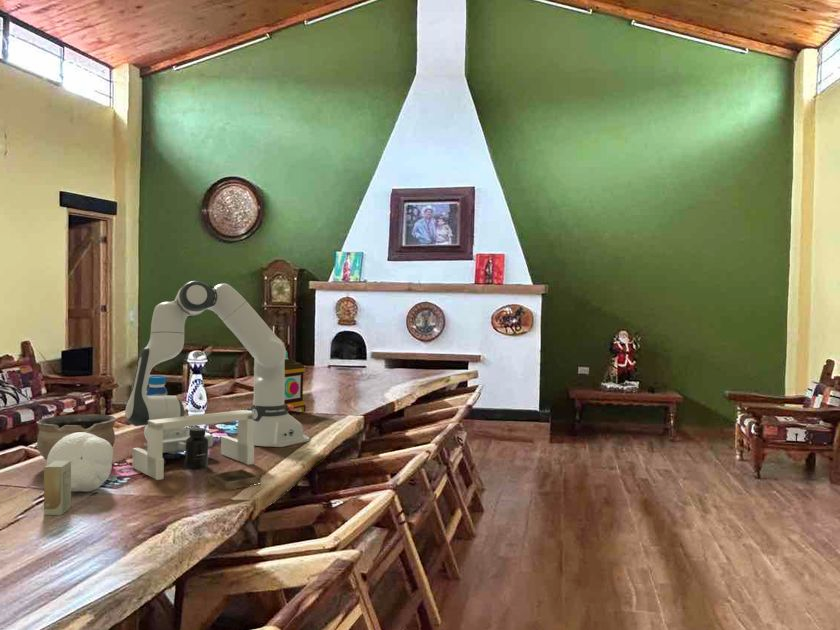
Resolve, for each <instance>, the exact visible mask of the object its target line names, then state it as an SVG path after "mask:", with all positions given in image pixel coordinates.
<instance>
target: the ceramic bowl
mask: <svg viewBox="0 0 840 630" xmlns="http://www.w3.org/2000/svg"><path fill="white" fill-rule="evenodd" d="M116 421H117V419H116V417H114V416H113V415H108V414H67V415H58V416H52V417H51V416H49V417H46V418H41V419H40V420H38V421H35V422H36V424H37V426H38V428H39V432H38V434H37V438H36V447H37V450H38V452H39V454H40V455H41V456H42V457H43V458H44V460H45V461H46V462H47V458H48V455H49V452H50V450H51V449H52V447H54V445H55V444H56V443H57V442H58V441H59V440H61V439H62V438H63V437H65V436H67V435H70V434H73V433H77V432H85V433H90V434H93V435H95V436H97V437H99V438H102V439H105V440H106V441H108V442H109V443H110V445H111V446H112V448H113V447H114V445H115V442H116V441H115V440H116V434H115V431H114V425H115V423H116Z"/></svg>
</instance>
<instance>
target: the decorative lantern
mask: <svg viewBox="0 0 840 630" xmlns="http://www.w3.org/2000/svg"><path fill="white" fill-rule="evenodd" d="M252 368H253V370H254V366H253V367H252ZM306 369H307V368H306V366H305V365H304V364H302V363H301V362H297V361H295V360H294V358H293V359H292V358H291V356H288V350H286V357H285V392H284V404H286V405H287V406H288V405H293V406H294V408H293V409H292V410H294V409H300V408H301V409H300V410H301V412H302V413H305V412H306V407H307V406H306V403H305V401H304V399H303V398H304V397H303V395H304V394H303V393H304V392H303V391H304V387H303V386H304V373H305V370H306ZM252 404H254V401H252ZM250 412H252V405H251V411H250Z"/></svg>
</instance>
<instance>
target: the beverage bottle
mask: <svg viewBox="0 0 840 630" xmlns="http://www.w3.org/2000/svg"><path fill="white" fill-rule="evenodd" d="M166 383H167V377H166V376H165V375H161V374H160V375H157V374H155V375H149V380H148V385H147V390H146V395H147V396H168V395H169V394H168V390H167V388H166V386H165V385H166ZM144 426H145V427H146V425H144Z"/></svg>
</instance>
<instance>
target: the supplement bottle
mask: <svg viewBox="0 0 840 630" xmlns="http://www.w3.org/2000/svg"><path fill="white" fill-rule="evenodd" d="M205 432H206V429H205V428H203V427H194V428H191V429H190V433H189V435H190V437H189V438H187V440H186V450H184V451H185V454H184V455H185V456H184V457H185V458H184V459H185V460H184V466H185V468H186V469H188V470H189V469H190V470H201V469H205V468H206V467H208V465H209V464H208V462H209V461H208V459H209V458H208V457H209V447H208V439H207V438H206V437H205V434H206V433H205Z"/></svg>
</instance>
